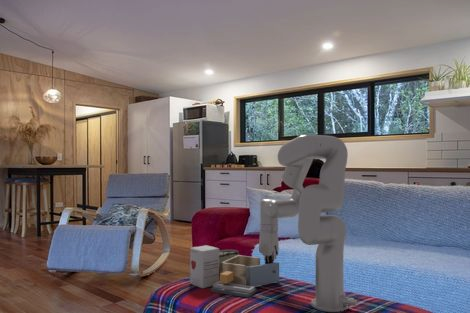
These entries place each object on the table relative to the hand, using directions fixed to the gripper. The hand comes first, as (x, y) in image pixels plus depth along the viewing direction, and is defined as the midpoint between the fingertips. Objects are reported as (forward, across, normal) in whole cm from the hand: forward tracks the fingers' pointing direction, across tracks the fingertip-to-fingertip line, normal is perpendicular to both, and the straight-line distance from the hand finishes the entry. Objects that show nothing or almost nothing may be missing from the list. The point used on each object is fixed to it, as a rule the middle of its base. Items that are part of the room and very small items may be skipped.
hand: (269, 270), depth 167 cm
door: (+4, +5, -5) cm, 9 cm away
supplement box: (+4, -6, -27) cm, 28 cm away
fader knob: (+3, +5, -22) cm, 23 cm away
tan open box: (+4, -4, -12) cm, 13 cm away
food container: (+4, -19, -13) cm, 23 cm away
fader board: (+4, +8, -20) cm, 22 cm away
